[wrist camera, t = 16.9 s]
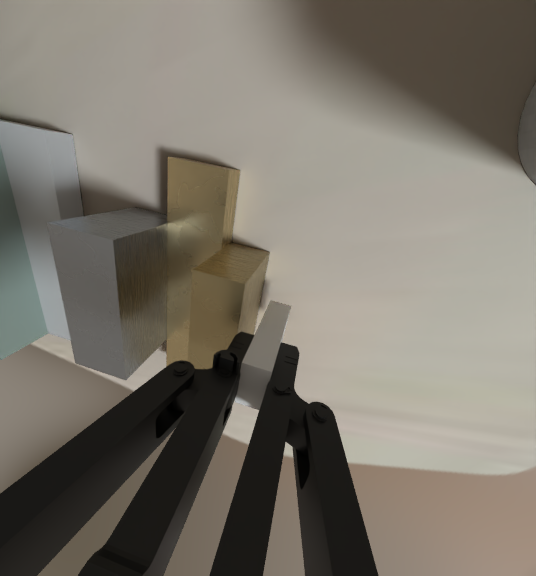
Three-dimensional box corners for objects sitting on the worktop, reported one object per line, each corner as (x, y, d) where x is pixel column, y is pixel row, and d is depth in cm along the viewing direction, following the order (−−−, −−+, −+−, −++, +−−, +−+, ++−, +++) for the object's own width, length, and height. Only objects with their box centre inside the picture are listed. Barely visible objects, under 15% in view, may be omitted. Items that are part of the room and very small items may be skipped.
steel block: (141, 314, 24) (75, 363, 18) (136, 207, 20) (46, 222, 13) (179, 325, 24) (125, 380, 17) (183, 218, 19) (112, 240, 13)
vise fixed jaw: (19, 307, 27) (-56, 339, 22) (-41, 110, 20) (-180, 86, 14) (100, 333, 26) (41, 373, 21) (72, 134, 18) (-34, 118, 13)
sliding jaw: (178, 358, 25) (137, 407, 20) (184, 158, 17) (119, 151, 12) (244, 379, 24) (220, 437, 19) (283, 179, 16) (261, 182, 11)
